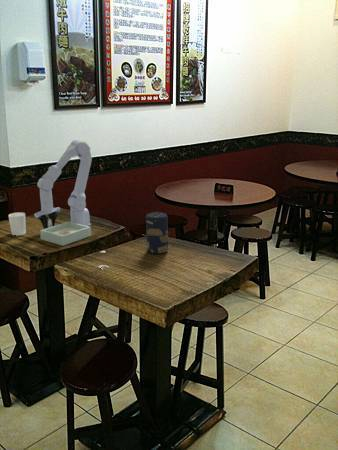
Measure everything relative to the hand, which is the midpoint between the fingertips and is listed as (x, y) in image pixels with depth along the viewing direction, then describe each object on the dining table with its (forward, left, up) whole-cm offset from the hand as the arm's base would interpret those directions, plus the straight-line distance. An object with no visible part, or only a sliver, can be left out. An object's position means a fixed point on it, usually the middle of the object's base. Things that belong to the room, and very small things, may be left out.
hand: (49, 228), depth 238 cm
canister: (-10, +62, -2) cm, 63 cm away
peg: (0, 0, -2) cm, 2 cm away
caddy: (+1, +14, -2) cm, 14 cm away
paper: (+14, +53, -2) cm, 54 cm away
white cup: (+11, -10, -2) cm, 15 cm away
